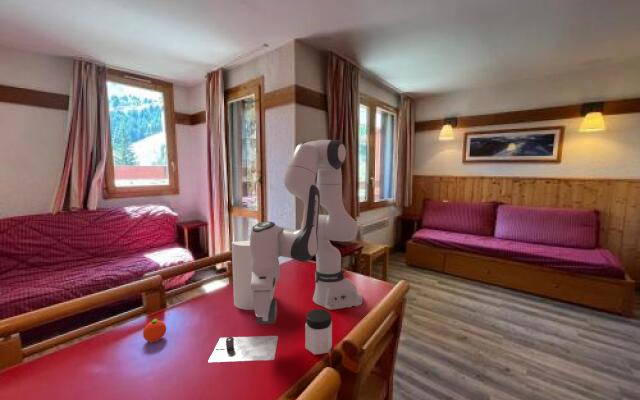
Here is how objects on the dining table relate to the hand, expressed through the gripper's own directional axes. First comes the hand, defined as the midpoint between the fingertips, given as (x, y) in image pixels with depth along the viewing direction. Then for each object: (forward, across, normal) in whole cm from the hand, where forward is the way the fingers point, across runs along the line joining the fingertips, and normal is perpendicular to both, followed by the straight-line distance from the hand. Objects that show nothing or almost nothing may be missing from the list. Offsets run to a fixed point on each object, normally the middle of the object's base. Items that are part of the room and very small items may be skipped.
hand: (267, 313), depth 88 cm
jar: (+13, +1, +17) cm, 21 cm away
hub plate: (+12, +1, -7) cm, 15 cm away
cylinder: (+14, -34, -11) cm, 39 cm away
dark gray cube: (+2, 0, 0) cm, 2 cm away
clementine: (+13, -7, -40) cm, 43 cm away
